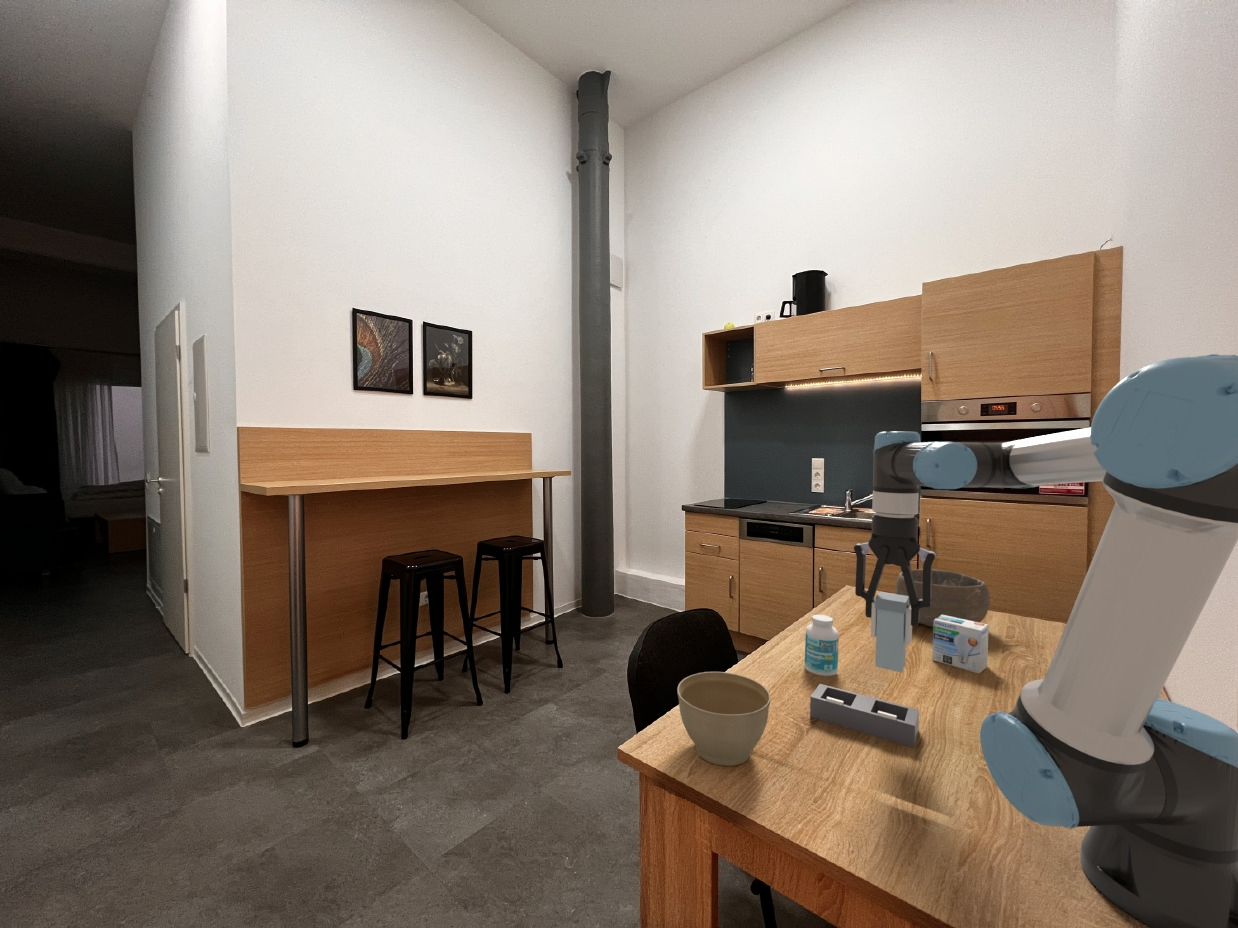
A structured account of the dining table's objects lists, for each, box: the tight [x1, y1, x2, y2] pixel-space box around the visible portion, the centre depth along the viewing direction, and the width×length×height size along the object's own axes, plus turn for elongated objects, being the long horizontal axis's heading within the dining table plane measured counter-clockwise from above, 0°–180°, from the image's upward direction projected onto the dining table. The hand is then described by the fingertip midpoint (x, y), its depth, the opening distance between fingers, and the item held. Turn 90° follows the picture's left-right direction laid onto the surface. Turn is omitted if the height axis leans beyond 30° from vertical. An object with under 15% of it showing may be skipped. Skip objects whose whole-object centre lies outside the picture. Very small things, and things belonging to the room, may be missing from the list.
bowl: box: [895, 568, 991, 628], centre depth 159 cm, size 24×24×15 cm
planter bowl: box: [676, 671, 771, 767], centre depth 92 cm, size 16×16×11 cm
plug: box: [874, 591, 909, 674], centre depth 97 cm, size 5×5×13 cm
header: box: [809, 683, 920, 749], centre depth 100 cm, size 7×18×6 cm, turn 55°
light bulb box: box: [931, 615, 990, 674], centre depth 130 cm, size 11×7×11 cm, turn 42°
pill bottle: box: [804, 614, 840, 677], centre depth 124 cm, size 8×7×14 cm
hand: (891, 637), depth 97 cm, fingers closed on plug, 5 cm apart
